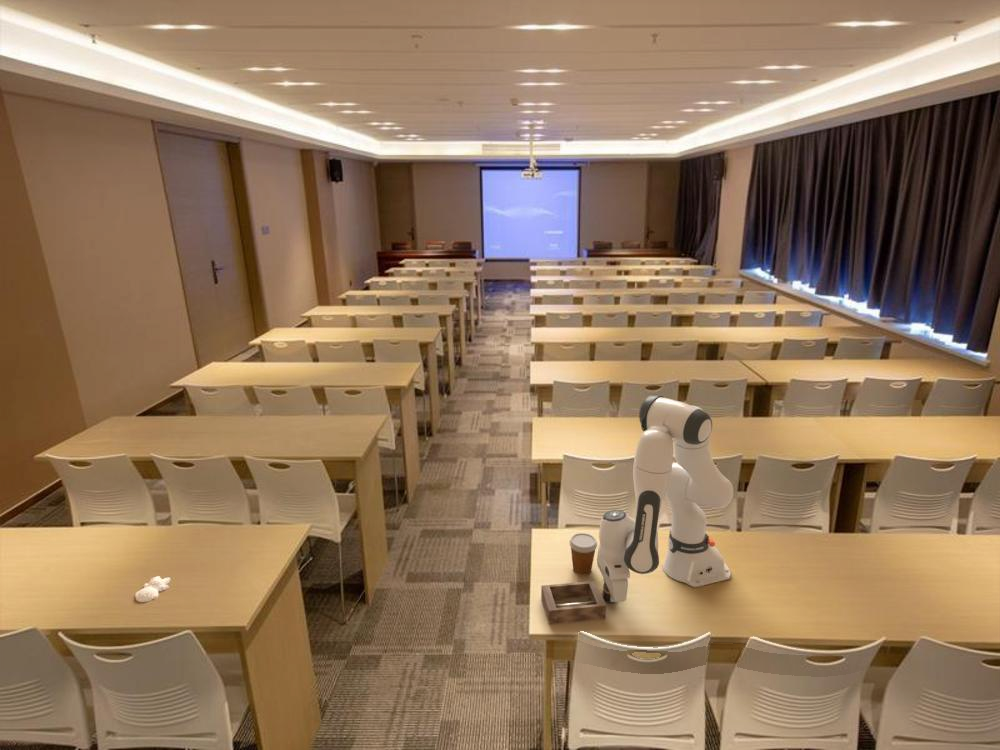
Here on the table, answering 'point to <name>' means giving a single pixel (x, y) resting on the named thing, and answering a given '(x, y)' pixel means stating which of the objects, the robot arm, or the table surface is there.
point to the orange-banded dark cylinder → (606, 593)
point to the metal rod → (575, 604)
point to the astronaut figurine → (152, 589)
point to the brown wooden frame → (573, 612)
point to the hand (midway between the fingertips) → (609, 594)
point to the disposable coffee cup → (582, 552)
